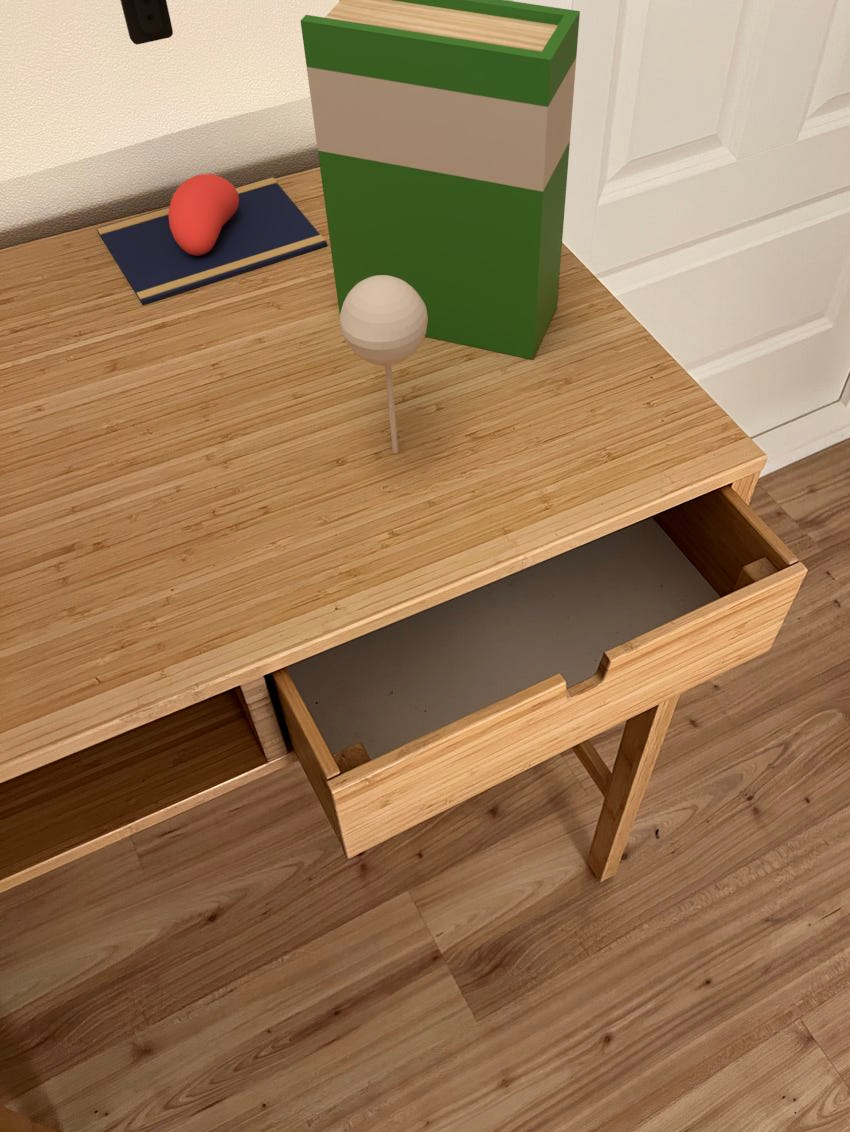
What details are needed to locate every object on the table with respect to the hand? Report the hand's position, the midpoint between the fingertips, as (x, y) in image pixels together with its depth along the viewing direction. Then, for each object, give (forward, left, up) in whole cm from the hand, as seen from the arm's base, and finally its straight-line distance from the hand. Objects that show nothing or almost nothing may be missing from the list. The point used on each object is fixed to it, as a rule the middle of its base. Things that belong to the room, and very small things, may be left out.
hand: (131, 13), depth 78 cm
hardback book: (+16, -22, -20) cm, 33 cm away
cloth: (+2, -1, -20) cm, 20 cm away
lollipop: (+4, -35, -20) cm, 40 cm away
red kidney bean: (+2, 0, -19) cm, 20 cm away
